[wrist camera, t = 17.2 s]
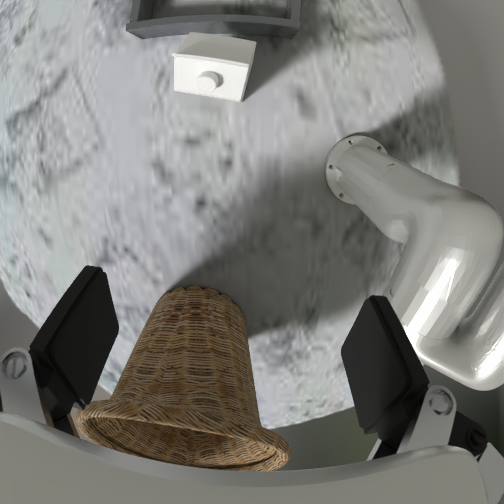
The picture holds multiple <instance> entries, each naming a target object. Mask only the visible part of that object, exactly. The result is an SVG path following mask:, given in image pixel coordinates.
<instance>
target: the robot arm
mask: <svg viewBox="0 0 504 504" xmlns="http://www.w3.org/2000/svg"><path fill="white" fill-rule="evenodd" d="M349 140H350V143H349ZM377 147H378V149H377ZM329 165H331V167H329ZM325 176H326V181H327V183H328V186H329V188H330V189H331V191H332V192H333V193H334V195H335V196H336V197H337V198H338V199H340V200H341V201H343V202H345V203H348V204H351V205H357V206H358V207H359V208H360V209H361V210H362V211H363V212H364V213H365V214H366V215H367V217H368V218H369V219H370V220H371V221H372V222H373V223H374V224H375V225H376V226H377V227H378V228H379V229H380V231H381V232H382V233H383V234H384V235H386V236H387V237H388V238H390V239H392V240H394V241H397V242H401V243H406V244H405V247H404V249H403V252H402V254H401V258H400V260H399V262H398V264H397V266H396V268H395V270H394V273H393V275H392V277H391V279H390V281H389V283H388V285H387V287H386V289H385V291H384V293H383V295H382V296H375V295H372V296H370V297H369V299H366V300H365V302H364V303H363V306H362V308H361V310H360V312H359V314H358V316H357V318H356V320H355V322H354V324H353V326H352V328H351V330H350V332H349V334H348V336H347V338H346V340H345V342H344V344H343V345H342V348H341V356H342V360H343V363H344V367H345V370H346V374H347V378H348V382H349V385H350V389H351V393H352V397H353V401H354V405H355V409H356V413H357V417H358V421H359V425H360V427H361V428H363V429H364V433H365V434H370V433H376V432H378V436H379V438H378V441H377V442H376V444H375V446H374V448H373V450H372V452H371V454H370V455H369V457H368V459H367V461H364V462H358V463H353V464H347V465H341V466H334V467H327V468H319V469H310V470H296V471H276V472H275V471H271V472H252V471H228V470H215V469H205V468H197V467H189V466H183V465H176V464H171V463H165V462H160V461H155V460H151V459H146V458H142V457H138V456H134V455H130V454H126V453H123V452H119V451H116V450H113V449H109V448H106V447H103V446H100V445H97V444H94V443H91V442H88V441H86V440H83V439H80V437H79V435H78V432H77V430H76V428H75V425H74V422H73V420H72V417H71V415H70V412H71V409H72V407H75V408H77V409H80V410H83V411H84V409H85V406H86V405H89V404H90V402H91V400H92V397H93V394H94V391H95V389H96V386H97V383H98V381H99V378H100V376H101V373H102V371H103V368H104V366H105V363H106V361H107V358H108V356H109V353H110V351H111V349H112V346H113V344H114V342H115V339H116V337H117V335H118V332H119V324H118V320H117V317H116V313H115V309H114V305H113V301H112V297H111V292H110V288H109V284H108V279H107V275H106V273H105V272H103V270H102V268H100V267H95V266H89V265H87V266H85V267H84V268H83V270H82V271H81V272H80V274H79V275H78V276H77V277H76V279H75V280H74V281H73V283H72V284H71V285H70V287H69V288H68V289H67V291H66V292H65V294H64V295H63V296H62V298H61V299H60V301H59V302H58V303H57V305H56V306H55V308H54V309H53V311H52V312H51V314H50V315H49V317H48V318H47V320H46V321H45V323H44V324H43V326H42V327H41V329H40V330H39V332H38V334H37V335H36V337H35V338H34V340H33V342H32V343H31V345H30V350H29V352H27V351H26V350H25V349H23V348H12V349H10V350H8V351H7V352H6V353H5V354H4V355H3V356H2V358H1V359H0V504H498V502H499V500H500V498H501V496H502V495H503V492H504V458H503V457H502V456H501V455H500V454H499V452H498V451H497V450H496V449H495V448H494V447H493V446H492V445H491V444H490V442H489V443H488V444H487V434H486V432H485V430H484V428H483V427H482V426H481V425H479V424H478V423H476V422H474V421H473V420H471V419H469V418H468V417H466V416H464V415H463V414H461V413H459V412H457V411H456V401H455V399H454V396H453V394H452V393H451V392H450V391H449V390H448V389H447V388H445V387H443V386H440V385H435V386H432V387H430V389H429V388H428V386H427V385H428V384H429V383H430V382H429V380H428V378H427V375H426V373H425V371H424V369H423V367H422V364H421V362H422V363H424V364H426V365H428V366H430V367H432V368H434V369H436V370H438V371H439V372H441V373H443V374H445V375H447V376H448V377H450V378H452V379H454V380H456V381H458V382H460V383H462V384H464V385H466V386H468V387H470V388H473V389H476V390H491V389H494V388H497V387H498V386H500V385H502V384H503V383H504V262H503V263H502V265H501V267H500V268H499V270H498V272H497V274H496V275H495V277H494V279H493V281H492V282H491V284H490V286H489V288H488V290H487V291H486V293H485V294H484V296H483V298H482V299H481V301H480V303H479V304H478V306H477V308H476V309H475V311H474V312H473V314H472V315H471V316H470V317H468V318H464V317H465V315H466V314H467V312H468V310H469V309H470V307H471V306H472V304H474V302H475V300H476V299H477V297H478V296H479V294H480V292H481V291H482V289H483V287H484V285H485V284H486V282H487V280H488V278H489V276H490V274H491V273H492V271H493V269H494V266H495V264H496V262H497V259H498V257H499V254H500V250H501V247H502V243H503V224H502V220H501V217H500V215H499V213H498V211H497V210H496V208H495V207H494V206H493V205H492V204H491V203H490V202H489V201H487V200H486V199H485V198H483V197H482V196H480V195H478V194H476V193H473V192H471V191H469V190H467V189H464V188H461V187H458V186H455V185H452V184H449V183H446V182H443V181H441V180H438V179H436V178H434V177H432V176H430V175H428V174H426V173H424V172H422V171H420V170H418V169H416V168H414V167H412V166H410V165H408V164H406V163H404V162H402V161H400V160H398V159H396V158H394V157H392V156H390V155H388V153H387V151H386V150H385V148H384V147H383V146H382V145H381V144H380V143H379V142H378V141H376V140H374V139H372V138H370V137H367V136H362V135H355V136H350V137H347V138H345V139H343V140H341V141H340V142H338V143H337V144H336V145H335V146H334V147H333V149H332V150H331V152H330V153H329V156H328V158H327V161H326V166H325ZM340 193H341V195H339V194H340ZM420 361H421V362H420Z"/></svg>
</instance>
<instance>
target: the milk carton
mask: <svg viewBox="0 0 504 504" xmlns="http://www.w3.org/2000/svg"><path fill="white" fill-rule="evenodd" d="M256 43H257V42H254V41H250V40H245V39H240V38H234V37H228V36H221V35H214V34H206V33H197V32H189V34H188V35H187V37H186V38H185V40H184V42H183V43H182V45H181V46H180V48H179V50H178V51H177V53H176V54H174V53H173V54H172V56H174V57H175V58H174V90H175V91H179V92H185V93H190V94H196V95H201V96H207V97H213V98H219V99H224V100H230V101H235V102H240V103H242V101H243V97H244V93H245V89H246V86H247V82H248V78H249V75H250V71H251V68H252V64H253V59H254V53H255V48H256Z"/></svg>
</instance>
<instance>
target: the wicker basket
mask: <svg viewBox="0 0 504 504" xmlns="http://www.w3.org/2000/svg"><path fill="white" fill-rule="evenodd" d="M76 423H77V426H78V428H79V430H80V431H81V432H82V433H83V434H84V435H85V436H86V437H87V438H88V439H89V440H91V441H92V442H93V443H95V444H97V445H100V446H103V447H106V448H109V449H113V450H116V451H119V452H123V453H126V454H130V455H134V456H138V457H142V458H146V459H151V460H155V461H160V462H165V463H171V464H176V465H183V466H189V467H197V468H205V469H215V470H228V471H252V472H270V471H273V470H276V469H278V468H280V467H282V466H283V465H285V464H286V463H287V462H288V460H289V459H290V457H291V449H290V446H289V444H288V443H287V441H286V440H285V439H284V438H283V437H282V436H280V435H278V434H277V433H275V432H272V431H270V430H268V429H266V428H264V427H262V426H261V422H260V418H259V411H258V405H257V399H256V392H255V386H254V379H253V372H252V365H251V359H250V352H249V345H248V338H247V332H246V326H245V320H244V316H243V315H242V312H241V309H240V307H239V306H238V305H237V304H233V302H232V300H231V298H230V297H229V296H227V295H225V294H222V295H221V296H220V295H219V293H218V292H217V291H216V290H214V289H212V288H206V289H204V290H202V289H201V287H199V286H190V287H188V288H187V289H184V288H183V287H178V288H175V289H174V290H173V291H172V292H171V293H170V292H166V293H165V294H164V295H163V296H162V297H161V299H160V300H158V302H157V304H156V305H155V307H154V309H153V311H152V313H151V315H150V316H149V318H148V320H147V322H146V324H145V326H144V328H143V330H142V332H141V334H140V336H139V338H138V340H137V343H136V345H135V347H134V349H133V351H132V353H131V355H130V357H129V359H128V361H127V364H126V366H125V368H124V370H123V372H122V375H121V377H120V379H119V381H118V383H117V386H116V388H115V390H114V392H113V394H112V396H111V398H110V399H109V400H100V401H93V402H90V404H89V405H86V406H85V409H84V411H83V410H80V409H79V410H78V412H77V415H76Z"/></svg>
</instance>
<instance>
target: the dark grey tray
mask: <svg viewBox="0 0 504 504" xmlns="http://www.w3.org/2000/svg"><path fill="white" fill-rule="evenodd" d="M153 5H154V0H133V5H132V10H131V16H130V23H128V24H126V31H127V32H129V33H131V34H133V35H135V36H137V37H139V38H141V39H147V38H154V37H163V36H173V35H186V34H189V32H197V33H206V34H248V35H262V36H272V37H281V38H288V39H292V38H293V37H294V36H295V34H296V33H297V32H298V30H299V29H300V26H301V21H300V9H301V0H287V12H286V19H284V18H276V17H266V16H254V15H234V14H207V15H187V16H175V17H166V18H158V19H151V18H152V12H153Z"/></svg>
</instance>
